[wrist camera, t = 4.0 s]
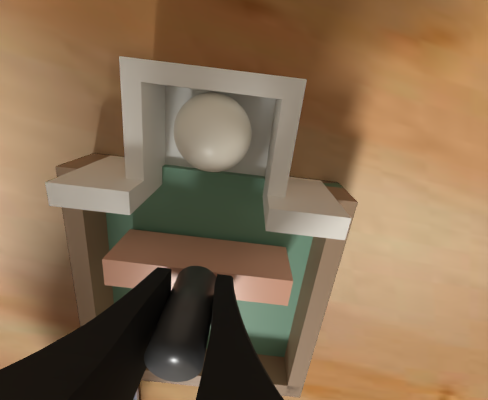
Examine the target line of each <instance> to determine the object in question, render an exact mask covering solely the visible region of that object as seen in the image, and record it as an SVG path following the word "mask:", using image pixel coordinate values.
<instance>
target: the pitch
mask: <svg viewBox="0 0 488 400" xmlns="http://www.w3.org/2000/svg"><path fill="white" fill-rule="evenodd" d="M119 64H120V82H121V100H122V118H123V137H124V155H125V157H119V156H111V155H103V154H94V153H92V154H90V155H87V156H84V157H81V158H78V159H75V160H72V161H69V162H67V163H64V164H61V165H58V166H56V173H57V177H56V178H54V179H51V180H49V181H47V182H45V185H46V190H47V196H48V202H49V206H56V207H62V211H63V218H64V224H65V231H66V237H67V244H68V250H69V256H70V263H71V269H72V276H73V282H74V289H75V295H76V302H77V308H78V314H79V321H80V327H81V326H83V325H84V324H86V323H87V322H89V321H90V320H92V319H93V318H95V317H96V316H98V315H99V314H101V313H102V312H103V311H105V310H106V309H107V308H109V307H110V306H111V305H113V304H114V303H115V302H117V301H118V300H119V299H120V298H122V297H123V296H124V295H125V294H127V293H128V292H129V291H130V290H131V289H133V288H126V287H117V286H108V285H105V284H104V274H103V264H102V259H103V258H104V256H105V255H106V254H107V253H108V252H109V251H110V250H111V249H112V248H113V247H114V246H115V245H116V244H117V243H118V242H119V240H120V239H121V238H122V237H123V236H124V235H125V234H126V233H127V232H128V231H129V230H130V229H134V230H142V231H151V232H160V233H168V234H177V235H186V236H194V237H203V238H211V239H220V240H229V241H237V242H246V243H254V244H263V245H272V246H280V247H286V250H287V255H288V259H289V264H290V268H291V273H292V277H293V285H292V289H291V294H290V298H289V303H288V306H284V305H275V304H267V303H258V302H249V301H240V300H237V304H238V307H239V311H240V314H241V317H242V320H243V323H244V325H245V328H246V331H247V333H248V336H249V338H250V340H251V342H252V345H253V347H254V349H255V351H256V353H257V355H258V357H259V359H260V361H261V363H262V365H263V367H264V368H265V370H266V372H267V373H268V375H269V377H270V378H271V380H272V382H273V384H274V385H275V387H276V389H277V390H278V392H279V393H280V395H281V396H290V397H299V398H300V396H301V392H302V389H303V386H304V382H305V379H306V375H307V372H308V369H309V365H310V362H311V359H312V355H313V352H314V348H315V345H316V342H317V338H318V335H319V332H320V328H321V325H322V321H323V318H324V315H325V311H326V308H327V304H328V301H329V298H330V294H331V291H332V288H333V284H334V281H335V277H336V274H337V271H338V267H339V264H340V261H341V257H342V254H343V250H344V247H345V244H346V240H347V237H348V233H349V230H350V227H351V223H352V220H353V217H354V213H355V210H356V206H357V203H358V202H357V201H356V200H355V199H354V198H353V197H352V196H351V195H350V194H349V193H348V192H347V191H346V190H345V189H344V188H343V187H342V186H341V185H340V184H339V183H338V182H329V181H321V180H312V179H304V178H296V177H289V174H290V169H291V163H292V158H293V152H294V147H295V142H296V136H297V131H298V125H299V120H300V114H301V109H302V104H303V98H304V93H305V87H306V82H307V79H301V78H293V77H285V76H277V75H268V74H260V73H252V72H244V71H236V70H228V69H220V68H212V67H204V66H196V65H187V64H179V63H171V62H163V61H155V60H147V59H139V58H131V57H123V56H119ZM207 92H215V93H221V94H224V95H227V96H229V97H231V98H233V99H234V100H235V101H237V102H238V103H239V104H240V105H241V106H242V107H243V109H244V110H245V112H246V114H247V116H248V118H249V121H250V124H251V131H252V133H251V142H250V146H249V149H248V151H247V153H246V155H245V156H244V158H243V159H242V160H241V161H240V162H239V163H238V164H236V165H235V166H234V167H232V168H230V169H228V170H225V171H221V172H207V171H203V170H200V169H197V168H195V167H193V166H192V165H191V164H189V163H188V162H187V161H186V160H185V159H184V158H183V157H182V155H181V154H180V152H179V150H178V148H177V146H176V143H175V139H174V123H175V119H176V116H177V114H178V112H179V110H180V109H181V107H182V106H183V105H184V104H185V103H186V102H187V101H188V100H189V99H191V98H193V97H194V96H196V95H199V94H202V93H207ZM210 330H211V326H210ZM209 337H210V331H209ZM209 337H208V342H209ZM208 342H207V347H208ZM206 352H207V348H206ZM205 356H206V353H205ZM204 361H205V358H204ZM203 366H204V364H203ZM202 370H203V368H202ZM201 375H202V371H201V372H200V374H199V375H198V376H196V377H195V378H193V379H191V380H188V381H183V382H172V381H167V380H164V379H161V378H159V377H157V376H155V375H154V374H153V373H152V372H150V371H149V369H148V368H146V370H145V372H144V374H143V377H142V379H141V380H144V381H154V382H163V383H172V384H181V385H190V386H199V384H200V379H201Z"/></svg>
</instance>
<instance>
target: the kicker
mask: <svg viewBox="0 0 488 400" xmlns="http://www.w3.org/2000/svg"><path fill="white" fill-rule="evenodd" d="M102 264H103V274H104V284H105V285H108V286H117V287H126V288H134V287H135V286H136V285H137V284H139V283H140V282H141V281H142V280H143V279H144V278H145V277H147V276H148V275H149V274H150V273H151V272H152V271H153V270H155V269H156V268H157V267H161V268H169V269H171V292H170V295H169V297H168V300H167V302H166V304H165V307H164V309H163V311H162V314H161V316H160V318H159V321H158V323H157V325H156V328H155V330H154V333H153V335H152V337H151V340H150V342H149V344H148V347H147V349H146V351H145V354H144V362H145V365H146V367H147V368H148V369H149V371H150V372H152V373H153V374H154V375H155V376H157V377H159V378H161V379H164V380H167V381H172V382H183V381H188V380H191V379H193V378H195V377H196V376H198V375H199V374H200V372H201V371H202V368H203V364H204V358H205V353H206V348H207V342H208V337H209V331H210V326H211V320H212V308H213V297H214V286H215V281H216V277H217V274H221V275H230V276H232V277H233V283H234V291H235V296H236V300H240V301H249V302H258V303H267V304H275V305H284V306H288V303H289V298H290V294H291V289H292V285H293V277H292V273H291V268H290V264H289V259H288V255H287V250H286V247H280V246H272V245H263V244H254V243H246V242H237V241H229V240H220V239H211V238H203V237H194V236H186V235H177V234H168V233H160V232H151V231H142V230H134V229H130V230H129V231H128V232H127V233H126V234H125V235H124V236H123V237H122V238H121V239H120V240H119V242H118V243H117V244H116V245H115V246H114V247H113V248H112V249H111V250H110V251H109V252H108V253H107V254H106V255H105V256H104V258H103V259H102Z"/></svg>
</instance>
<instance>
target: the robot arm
mask: <svg viewBox="0 0 488 400" xmlns="http://www.w3.org/2000/svg"><path fill="white" fill-rule="evenodd" d="M170 292H171V269H169V268H161V267H157V268H156V269H155V270H153V271H152V272H151V273H150V274H149V275H148V276H147V277H145V278H144V279H143V280H142V281H141V282H140V283H139V284H137V285H136V286H135V287H134V288H133V289H131V290H130V291H129V292H128V293H127V294H125V295H124V296H123V297H122V298H120V299H119V300H118V301H117V302H115V303H114V304H113V305H111V306H110V307H109V308H107V309H106V310H105V311H103V312H102V313H101V314H99V315H98V316H96V317H95V318H93V319H92V320H90V321H89V322H87V323H86V324H84V325H83V326H81V327H80V328H78V329H76V330H75V331H73V332H72V333H70V334H68V335H66V336H65V337H63V338H61V339H59V340H57V341H56V342H54V343H52V344H50V345H49V346H47V347H45V348H43V349H41V350H39V351H37V352H35V353H34V354H32V355H30V356H28V357H26V358H24V359H22V360H19V361H17V362H15V363H13V364H11V365H9V366H7V367H5V368H3V369H0V400H139V391H138V386H139V384H140V381H141V379H142V377H143V374H144V372H145V370H146V368H147V367H146V365H145V362H144V354H145V351H146V349H147V347H148V344H149V342H150V340H151V337H152V335H153V333H154V330H155V328H156V325H157V323H158V321H159V318H160V316H161V314H162V311H163V309H164V307H165V304H166V302H167V300H168V297H169V295H170ZM196 400H284V399H283V398H282V396H281V395H280V393H279V392H278V390H277V389H276V387H275V385H274V384H273V382H272V380H271V378H270V377H269V375H268V373H267V372H266V370H265V368H264V367H263V365H262V363H261V361H260V359H259V357H258V355H257V353H256V351H255V349H254V347H253V345H252V342H251V340H250V338H249V336H248V333H247V331H246V328H245V325H244V323H243V320H242V317H241V314H240V311H239V307H238V304H237V300H236V296H235V291H234V283H233V277H232V276H230V275H221V274H217V277H216V281H215V286H214V297H213V308H212V320H211V330H210V337H209V342H208V347H207V352H206V356H205V361H204V366H203V370H202V375H201V379H200V384H199V388H198V393H197V397H196Z"/></svg>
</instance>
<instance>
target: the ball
mask: <svg viewBox="0 0 488 400" xmlns="http://www.w3.org/2000/svg"><path fill="white" fill-rule="evenodd" d="M251 133H252V131H251V124H250V121H249V118H248V116H247V114H246V112H245V110H244V109H243V107H242V106H241V105H240V104H239V103H238V102H237V101H235V100H234V99H233V98H231V97H229V96H227V95H224V94H221V93H215V92H207V93H202V94H199V95H196V96H194V97H193V98H191V99H189V100H188V101H187V102H186V103H185V104H184V105H183V106H182V107H181V109H180V110H179V112H178V114H177V116H176V119H175V123H174V139H175V143H176V146H177V148H178V150H179V152H180V154H181V155H182V157H183V158H184V159H185V160H186V161H187V162H188V163H189V164H191V165H192V166H193V167H195V168H197V169H200V170H203V171H207V172H221V171H225V170H228V169H230V168H232V167H234V166H235V165H236V164H238V163H239V162H240V161H241V160H242V159H243V158H244V156H245V155H246V153H247V151H248V149H249V146H250V142H251Z"/></svg>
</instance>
